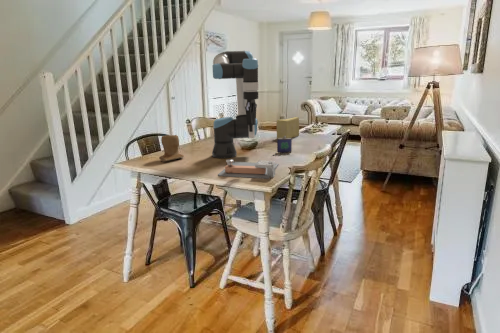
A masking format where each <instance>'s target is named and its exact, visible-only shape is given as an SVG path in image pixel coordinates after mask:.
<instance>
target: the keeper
mask: <svg viewBox="0 0 500 333" xmlns="http://www.w3.org/2000/svg"><path fill="white" fill-rule="evenodd" d="M255 163H256V164H255V167H256V168H267V176H270V178H274V177H275V175H276V169H275V164H276V161H275V160H260V159H259V160H258V161H256V162H255Z"/></svg>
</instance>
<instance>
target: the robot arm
mask: <svg viewBox="0 0 500 333" xmlns="http://www.w3.org/2000/svg"><path fill="white" fill-rule="evenodd" d="M212 78H213V79H216V80H222V79H223V80H226V79H235V83H236V85H235V86H236V102H237V114H236V115H235V118H234V119H233V117H232V116H225V117H221V118H216V119H215V120H214V121H213V127H212V128H213V139H214V140H213V141H214V142H213V143H214V144H213V148H212V152H211V154H212V155H211V156H212V157H213V158H215V159H230V158H231V159H232V158H234V157H236V156H237V155H238V153H237V152H238V151H237V149H236V147H235V143H234V139H254V138H255V137H256V136H257V132H258V118H257V106H258V104H257V103H256V100H258V99H259V61H258V59H257V58H254V57H253V53H252V52H251V51H249V50H235V51H234V50H233V51H231V50H230V51H229V50H226V51H222V52H219V53H217V55H215V56H214V58H213V59H212Z"/></svg>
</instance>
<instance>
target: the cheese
mask: <svg viewBox="0 0 500 333" xmlns="http://www.w3.org/2000/svg"><path fill="white" fill-rule="evenodd" d="M299 119H300V118H299V117H298V116H295V117H291V118H287V119H284V118H283V119H277V120H276V140H277V139H278V138H283V137H284V136H286V138H292V139H293V138H296V137H299V136H300V120H299Z"/></svg>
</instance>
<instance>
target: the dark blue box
mask: <svg viewBox="0 0 500 333" xmlns="http://www.w3.org/2000/svg"><path fill="white" fill-rule="evenodd" d="M292 141H293V138H286V136H284V137H283V138H278V139H277V138H276V146H277V147H276V148H277V149H276V152H278V153H277V154H283V153H284V154H287V153H289V154H290V153H292V152H293V150H292V149H293V148H292V144H293V142H292Z"/></svg>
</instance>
